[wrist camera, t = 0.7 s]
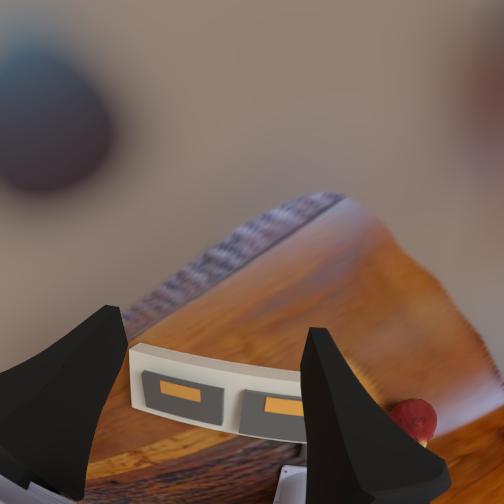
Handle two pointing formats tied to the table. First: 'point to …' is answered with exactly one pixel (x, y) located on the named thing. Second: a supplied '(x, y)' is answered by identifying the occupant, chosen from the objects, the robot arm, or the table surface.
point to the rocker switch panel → (210, 382)
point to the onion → (415, 419)
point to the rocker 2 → (272, 416)
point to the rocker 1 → (183, 398)
